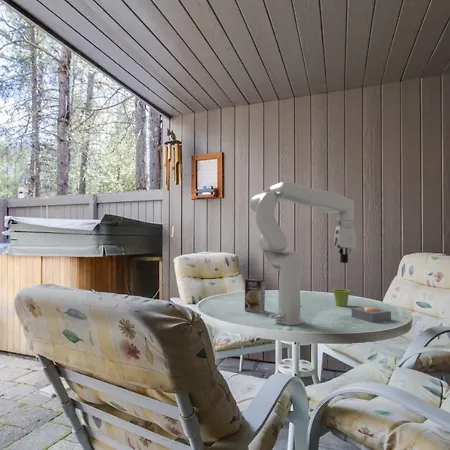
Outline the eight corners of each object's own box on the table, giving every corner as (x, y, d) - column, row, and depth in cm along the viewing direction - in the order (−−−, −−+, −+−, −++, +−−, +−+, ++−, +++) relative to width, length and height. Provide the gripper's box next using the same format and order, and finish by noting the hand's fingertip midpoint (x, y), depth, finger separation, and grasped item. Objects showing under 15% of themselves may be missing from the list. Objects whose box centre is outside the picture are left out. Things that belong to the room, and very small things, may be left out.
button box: (372, 322, 141) (372, 313, 141) (351, 316, 152) (351, 308, 152) (391, 320, 146) (390, 311, 146) (369, 314, 157) (369, 306, 157)
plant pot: (339, 307, 174) (339, 291, 174) (329, 304, 183) (329, 289, 183) (353, 306, 176) (353, 291, 177) (343, 303, 185) (343, 288, 186)
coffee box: (244, 311, 163) (244, 279, 164) (249, 308, 168) (249, 278, 169) (260, 313, 159) (260, 280, 159) (265, 310, 164) (265, 279, 165)
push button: (371, 316, 145) (371, 309, 146) (361, 313, 151) (361, 307, 151) (380, 315, 148) (380, 308, 148) (370, 312, 153) (370, 306, 153)
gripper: (338, 223, 147) (337, 262, 145) (362, 225, 153) (361, 263, 151) (327, 223, 154) (326, 261, 152) (351, 226, 159) (349, 262, 158)
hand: (343, 262), depth 152 cm, fingers closed
